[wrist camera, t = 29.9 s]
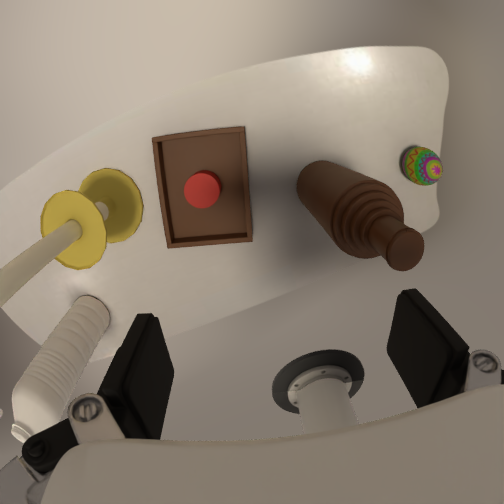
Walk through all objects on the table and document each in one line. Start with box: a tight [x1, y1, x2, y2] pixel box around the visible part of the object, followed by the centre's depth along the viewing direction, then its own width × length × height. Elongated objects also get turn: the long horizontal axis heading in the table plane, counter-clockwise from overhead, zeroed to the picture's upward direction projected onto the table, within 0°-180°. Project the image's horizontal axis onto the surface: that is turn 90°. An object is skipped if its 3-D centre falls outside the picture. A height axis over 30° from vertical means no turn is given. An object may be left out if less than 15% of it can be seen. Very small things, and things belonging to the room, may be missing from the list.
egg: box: [402, 147, 443, 185], centre depth 31 cm, size 5×5×6 cm
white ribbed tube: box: [0, 296, 110, 443], centre depth 29 cm, size 9×6×25 cm
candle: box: [0, 168, 143, 308], centre depth 22 cm, size 10×10×27 cm
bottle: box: [297, 161, 424, 271], centre depth 25 cm, size 6×6×20 cm
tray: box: [152, 127, 253, 248], centre depth 33 cm, size 13×10×2 cm
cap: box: [184, 170, 222, 208], centre depth 32 cm, size 4×4×3 cm
